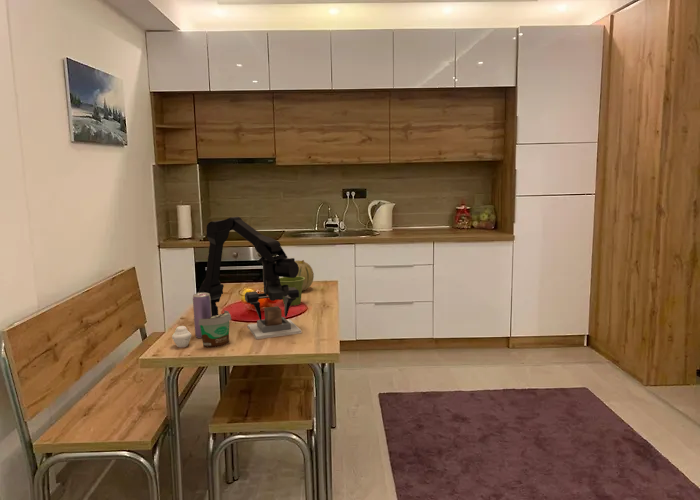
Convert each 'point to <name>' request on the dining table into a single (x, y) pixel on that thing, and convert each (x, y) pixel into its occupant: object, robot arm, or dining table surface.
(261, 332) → the socket base
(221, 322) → the food container
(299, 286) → the plant pot
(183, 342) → the white lidded jar
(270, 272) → the robot arm
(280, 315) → the walnut peg
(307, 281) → the cantaloupe
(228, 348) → the dining table surface
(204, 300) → the beverage can
